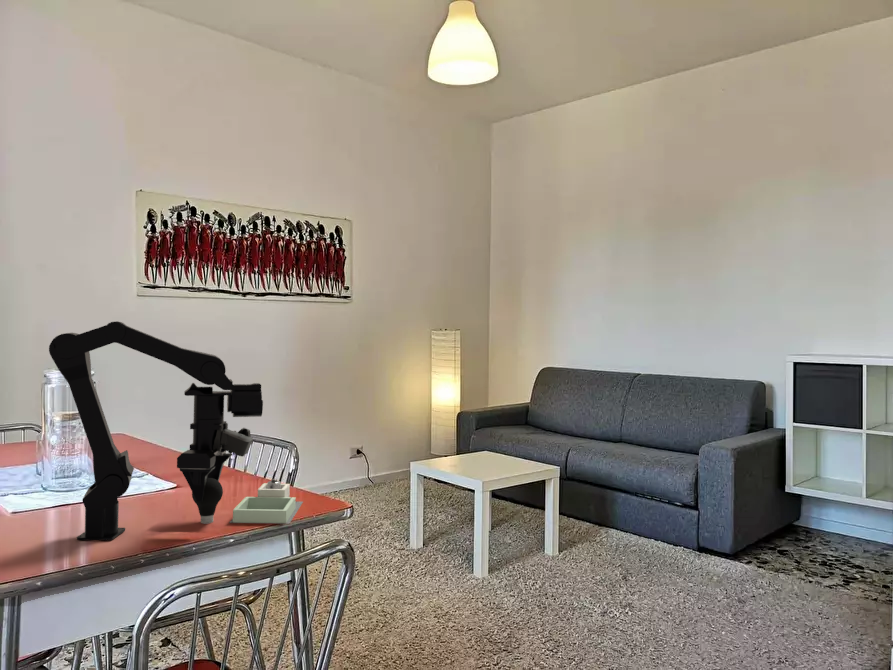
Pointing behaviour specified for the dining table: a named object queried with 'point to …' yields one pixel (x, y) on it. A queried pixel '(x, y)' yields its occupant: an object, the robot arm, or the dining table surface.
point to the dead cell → (274, 484)
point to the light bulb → (209, 500)
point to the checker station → (267, 507)
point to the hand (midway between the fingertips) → (206, 495)
